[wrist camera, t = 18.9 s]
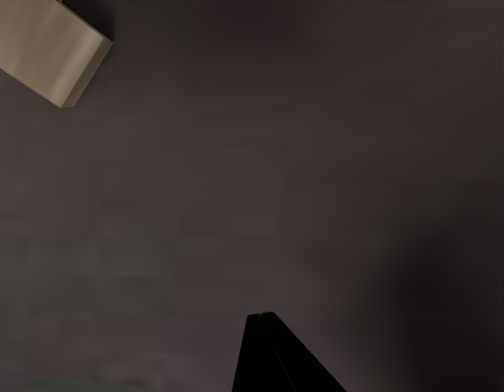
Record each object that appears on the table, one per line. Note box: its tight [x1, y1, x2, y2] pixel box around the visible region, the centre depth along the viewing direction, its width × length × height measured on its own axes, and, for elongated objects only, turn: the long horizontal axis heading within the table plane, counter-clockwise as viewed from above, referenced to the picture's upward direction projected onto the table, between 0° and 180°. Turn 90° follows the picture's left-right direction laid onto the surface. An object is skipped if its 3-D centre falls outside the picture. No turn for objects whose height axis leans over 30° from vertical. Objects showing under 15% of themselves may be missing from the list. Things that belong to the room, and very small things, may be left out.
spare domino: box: [0, 0, 113, 108], centre depth 17 cm, size 2×5×10 cm
